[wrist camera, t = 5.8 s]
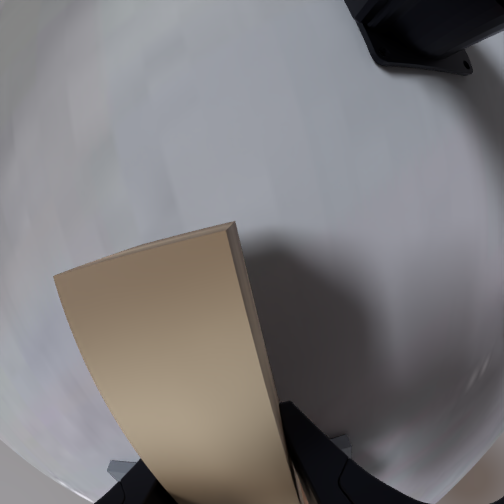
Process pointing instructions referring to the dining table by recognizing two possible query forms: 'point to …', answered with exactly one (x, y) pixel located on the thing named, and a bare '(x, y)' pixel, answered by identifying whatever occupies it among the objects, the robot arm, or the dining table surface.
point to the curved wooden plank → (185, 366)
